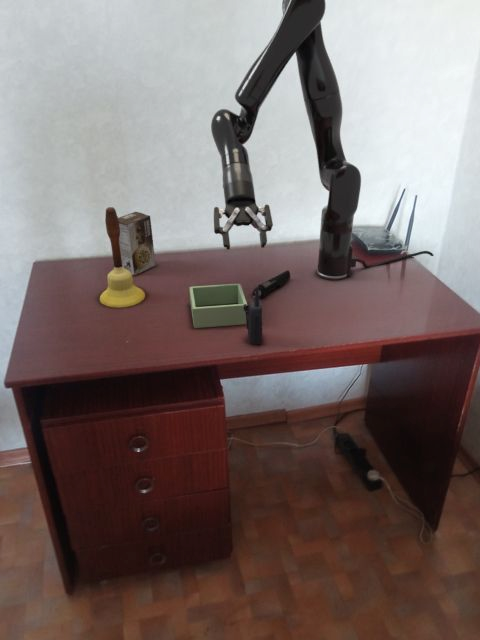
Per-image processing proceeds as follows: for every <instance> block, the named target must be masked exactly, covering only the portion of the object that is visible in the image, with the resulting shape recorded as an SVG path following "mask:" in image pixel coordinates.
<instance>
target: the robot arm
mask: <svg viewBox="0 0 480 640" xmlns="http://www.w3.org/2000/svg"><path fill="white" fill-rule="evenodd" d="M326 3H327V2H326V0H282V1H281V12H282V16H281V20H280V22H279V24H278V26H277V28H276V31H275V32H274V34H273V36H272V38H271V39H270V40H269V42H268V43H267V45H266V46H265V48H264V49H263V50H262V51H261V53H260V54H259V56H257V58H256V59H255V60H254V62H253V63H252V65H251V66H250V67H249V69H248V70H247V72H246V74H245V75H244V78H243V79H242V80H241V82H240V84H239V86H238V88H237V89H236V91H235V94H234V100H235V102H236V103H237V104H238V105H239V106H240V112H239V114H237V113H235V112H233V111H231V110H230V109H226V108H220V109H219V110H217V111H215V113H214V114H213V116H212V118H211V122H210V131H211V135H212V138H213V142H214V144H215V147H216V149H217V152H218V154H219V156H220V161H221V169H222V171H221V172H222V189H223V194H224V195H223V196H224V205H225V207H224V208H219V207H218V206H214V208H213V233H214V235H215V234H216V235H221V236H222V247H224V248H226V250H231V242H230V235H229V232H230V231H231V229H232V228H233V227H234V226H236V227H242V226H245V227H249V226H250V225H251V226H252V227H253V228H254V229H256V230H257V231H258V232H259V233H258V234H259V235H258V236H259V241H260V247H261V248H262V249H263V248H265V247H266V245H267V243H268V237H267V236H268V235H267V232H271V231H272V229H273V226H274V222H273V218H272V213H271V208H270V205H269V204H265V205H264V206H258V204H257V201H256V195H255V193H256V192H255V187H254V179H253V174H252V170H251V164H250V163H251V161H250V156H249V151H248V149H247V148H246V147H245V146H244V145H245V144H246V143H247V142H248V141H249V140H250V138H251V137H252V134H253V131H254V129H255V125H256V122H257V119H258V116H259V113H260V109H261V107H262V106H263V104H264V102H265V101H266V99H267V98H268V96H269V94H270V93H271V91H272V90H273V88H274V86H275V84H276V83H277V81H278V79H279V78H280V77H281V75H282V73H283V71H284V70H285V68H286V66H287V65H288V63H289V62H290V60H291V59H292V58H293V57H294V55H295V57H296V64H297V70H298V77H299V82H300V88H301V94H302V98H303V103H304V107H305V112H306V116H307V118H308V122H309V126H310V131H311V134H312V139H313V141H314V146H315V150H316V158H317V166H318V175H319V180H320V184H321V185H322V187H323V188H324V189H325V190H326V191H327V192H328V198H327V199H328V200H327V205H325V206H323V207H322V209H321V214H320V228H319V229H320V231H319V242H318V243H319V244H318V257H317V268H316V274H317V275H318V276H319V277H321V278H322V279H326V280H330V281H331V280H332V281H337V280H339V281H340V280H343V279H344V280H345V279H346V278H350V277H351V269H352V268H356V267H357V262H358V263H361V264H362V265H363V267H364V268H366V269H367V268H369V269H370V268H373V267H381V266H382V265H386V264H389V263H393V262H396V261H400V260H403V259H407V258H412V257H416V256H417V257H418V256H421V255H429V256H431V257H434V253H432V252H431V251H429V250H421V251H418V252H414V253H410V254H405V255H401V256H398V257H395V258H394V257H393V258H390V259H387V260H384V261H383V260H382V261H380V262H378V263H377V262H376V263H374V264H367V263H366V261H365V260H363V259H361V258H357V257H356V256H355V254H354V253H353V252H354V246H353V245H352V237H353V229H354V228H353V226H354V219H355V214H356V212H357V210H358V208H359V207H358V206H359V201H360V195H361V187H362V174H361V171H360V169H359V168H358V167H357V166H356V165H354V164H352V163H350V162H349V161H347V158H346V155H345V153H344V152H345V151H344V148H343V144H342V138H341V129H342V123H343V115H344V114H343V113H344V112H343V110H344V109H343V101H342V96H341V90H340V86H339V81H338V77H337V75H336V72H335V69H334V67H333V64H332V62H331V59H330V56H329V53H328V51H327V49H326V48H327V47H326V45H325V41H324V35H323V28H322V20H323V18H324V16H325V13H326V8H327V7H326ZM259 213H260V214H261V216H262V217H264V223H265V224H264V223H263V222H262V221H261V219H260V218H259V216H258V214H259ZM223 215H224V216H225V217H226V218H227V221H226V223H225V224H224V226H221V224H220V223H221V222H220V221H221V220H220V219H222V218H223Z"/></svg>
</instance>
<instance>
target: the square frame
mask: <svg viewBox="0 0 480 640" xmlns="http://www.w3.org/2000/svg"><path fill="white" fill-rule="evenodd" d="M188 288H189V302H190V303H189V305H190V310H191V317H192V325H193V329H201V328H213V327H228V326H239V325H246V313H245V311H244V308H243V305H244V304H246V305H248V302H247V300H246V297H245V294H244V291H243V288H242V285H241V283H227V284H210V285H196V286H189V287H188Z"/></svg>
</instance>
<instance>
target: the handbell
mask: <svg viewBox="0 0 480 640" xmlns="http://www.w3.org/2000/svg"><path fill="white" fill-rule="evenodd" d="M104 217H105V220H104V222H105V229H106V235H107V236H108V238H109V242H110V247H111V254H112V261H113V269H112V270H110V272H109V273H108V274H107V285H108V286H107V288H106V290H104V291H102V293H101V294H100V296H99V302H100V303H101V304H102V305H104V306H105V307H109V308H110V307H111V308H127V307H132V306H136V305H137V304H140V303H141V302H142V301H144V300H145V298H146V293H145V291H144V290H143V289H142V288H140V287H138V286H136V285H135V284H134V279H133V275H132V274H131V272H130V271H128V270H126V269H124V268H123V266H122V259H121V252H120V244H119V236H120V226H119V220H118V218H119V217H118V214H117V210H116V208H114V207H113V206H110V207H106V208H105V216H104Z"/></svg>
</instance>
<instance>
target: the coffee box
mask: <svg viewBox="0 0 480 640" xmlns="http://www.w3.org/2000/svg"><path fill="white" fill-rule="evenodd" d="M118 220H119V226H120V236H119V244H120V252H121V259H122V266H123V268H124V269H126V270H128V271H130V272H131V274H132V276H136V275H139V274H141V273H142V272H145V271H147V270H149V269H151V268H153V267H155V266H156V257H155V248H154V240H153V230H152V220H151V215H148V214H145V213H143V212H141V211H140V212H139V211H133V212H130V213H127V214H125V215H122V216H119V217H118Z"/></svg>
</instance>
